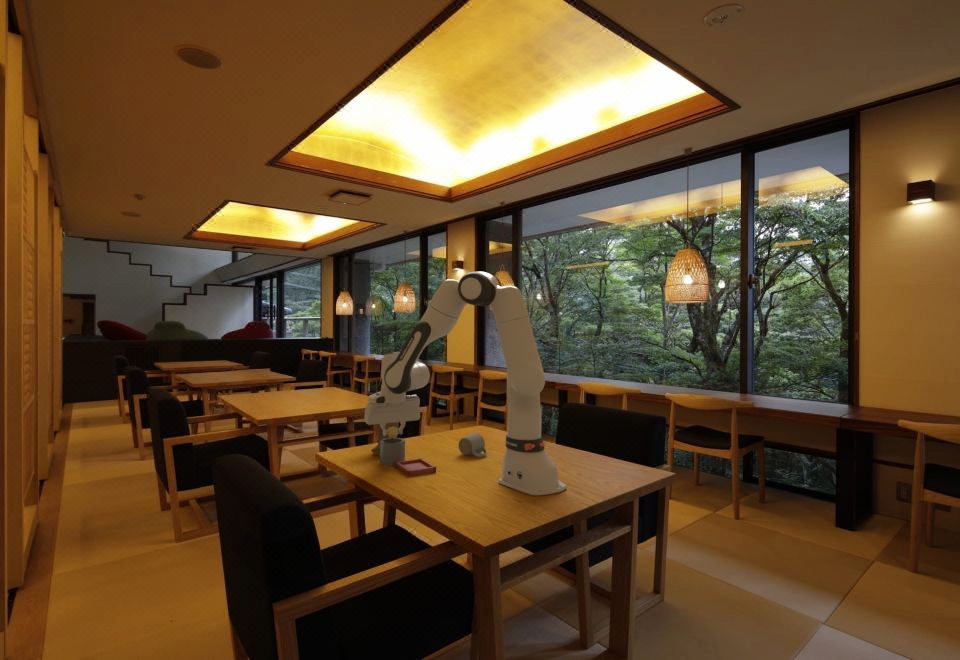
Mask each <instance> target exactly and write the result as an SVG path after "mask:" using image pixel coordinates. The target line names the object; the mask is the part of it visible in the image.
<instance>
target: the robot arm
mask: <svg viewBox="0 0 960 660" xmlns="http://www.w3.org/2000/svg"><path fill="white" fill-rule="evenodd" d="M466 305H471V306H480V307H489V308H490V309H491V310H492V312H493V315H494V320H495V325H496V328H497V335H498V340H499V342H500V343H499V345H500V347H501V350H502V355H503V359H504V362H505V366H506V369H507V372H506V402H507V405H506V406H507V427H506V429H507V433H506V435H505V447H506V450H505V453H504V455H503V458H502V466H501V474H500V475H501V476H500V478H499V479H498V484H500V485H503V486H506V487H509V488H511V489H513V490H516V491H519V492H520V493H521V492H522V493H525V494H527V495H529V496H546V495H553V494H557V493H560V492H563V491H565V490H566V489H567V485H566V484H565V483H563V482H562V481H561V480H559V477H560V476H559V469H558V466H557V464H556V463H555V462H553V460H552V459H551V457H550V456H549V454H547V452H546V450H545V446H547V445H546V444H547V442H546V441H544V439H543V437H542V408H541V396H540V394H541V392H542V391H543V389H544V387H545V385H546V376H545V372H544V368H543V364H542V360H541V357H540V353H539V350H538V348H537V344H536V340H535V338H534V332H533V328H532V324H531V320H530V319H531V318H530V314H529V311H528V307H527V303H526V302H525V299H524V296H523V294H522V291H521V290H520V289H519V288H518V287H516V286H513V285H505V286H502V283H501V281H500V279H499V278H498V277H497V276H496V275H494V274H493V273H489V272H485V271H481V270H480V271H470V272H468V273H465V274H464V275H463V276H462V277H461V278H460V280H457V279H454V278H448V279H445V280H443V281H442V282H441V284H440V285H439V287H438V288H437V290H436V291H435V293H434V294H433V296H432V298H431V300H430V302H429V304H428V307H427V309H426V311H425V312H424V313H423V315H422V317H421V318H420V320H419V321H418V323H417V324H416V325H415V326H414V328H413V329H412V331H411V332H410V334H409V336H408V337H407V339H406V341H405V343H404V345H403V346H402V348H401V349H400V351H394V352H388V353H385V354H384V355H383V357H382V360H381V368H380V369H381V370H380V377H381V386H380V391H377V392H375V393H373V394H369V396H367V401H368V403H367V404H366V405H365V409H364V422H365V424H366V425H368V426H371V425H373V426H374V424H380V427H381V428H382V430H383V435H384V436H388V433H389V431H388V430H386V429H385V427H384V426H386V423H395V422H399V424H400V426H399V428H398V435H403V430H404V428H405V426H406V422H413V421H419V420H420V418H421V409H420V403H421V399H420V397H419V396H417V394H412V395H409V394H408V395H406V394H407V392H411V391H414V390H415V391H416V390H418V389H422V388H424V387H426V386H427V385H428V383H429V382H430V378H431V373H430V369H429V366H427V365H426V364H425V363H424V362H420V361H418V359H419V358H420V356H421V355H422V353H423V350H425V348H426V347H427V346H429V344H430V343H432V342H434V341H435V340H438V339H440V338H444V337H445V336H448V334H450V333H451V332H452V330H453V329H454V327H455V326H456V325H457V323H458V321H459V318H460V316H461V315H462V311H463V310H464V308H465V306H466Z"/></svg>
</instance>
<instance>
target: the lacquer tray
mask: <svg viewBox="0 0 960 660" xmlns="http://www.w3.org/2000/svg"><path fill="white" fill-rule="evenodd" d="M394 467H395V468H396V469H397V470H398V471H400V472H402V473H403V474H404V475H406V476H407V477H408V478H410V477H416V476H422V475H426V474H427V475H428V474H434V473H437V466H435V465H434V464H432V463H430V462H428V461H427V460H426V459H424V458H422V457H419V458H414V459H407V460H406V459H405V461H398V462H395V466H394Z"/></svg>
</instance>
